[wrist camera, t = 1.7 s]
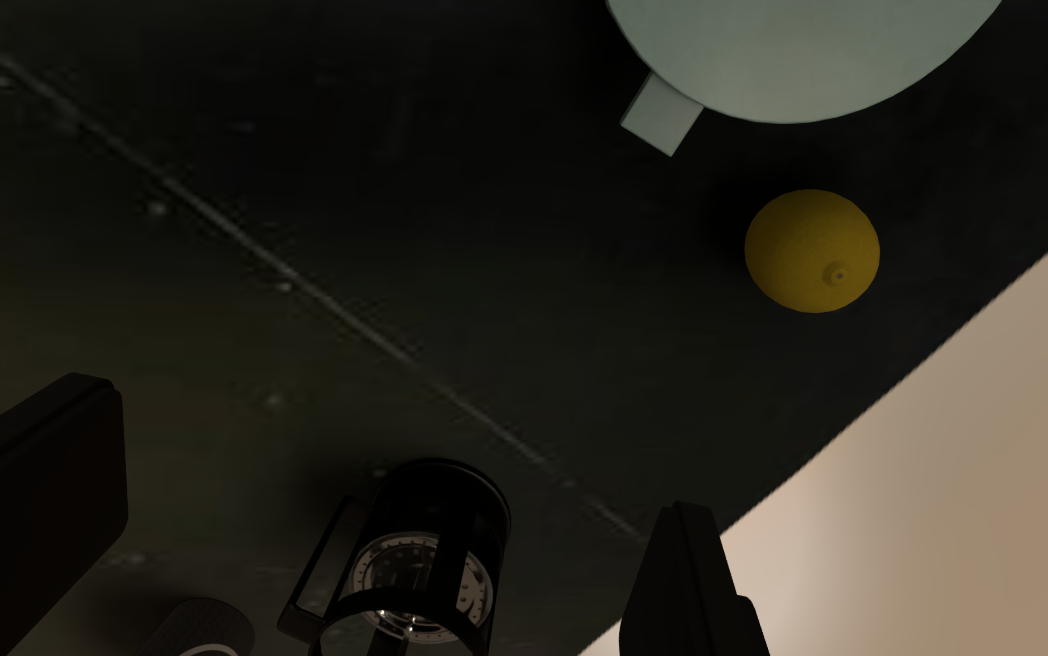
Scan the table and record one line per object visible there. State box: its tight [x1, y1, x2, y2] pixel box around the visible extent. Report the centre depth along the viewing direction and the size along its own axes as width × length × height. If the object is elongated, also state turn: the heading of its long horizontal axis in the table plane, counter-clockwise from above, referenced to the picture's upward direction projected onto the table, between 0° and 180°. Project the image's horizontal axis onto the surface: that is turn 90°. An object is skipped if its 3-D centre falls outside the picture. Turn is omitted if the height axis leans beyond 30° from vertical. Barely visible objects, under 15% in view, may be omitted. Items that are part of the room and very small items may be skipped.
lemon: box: [744, 189, 880, 313], centre depth 30 cm, size 6×6×8 cm
